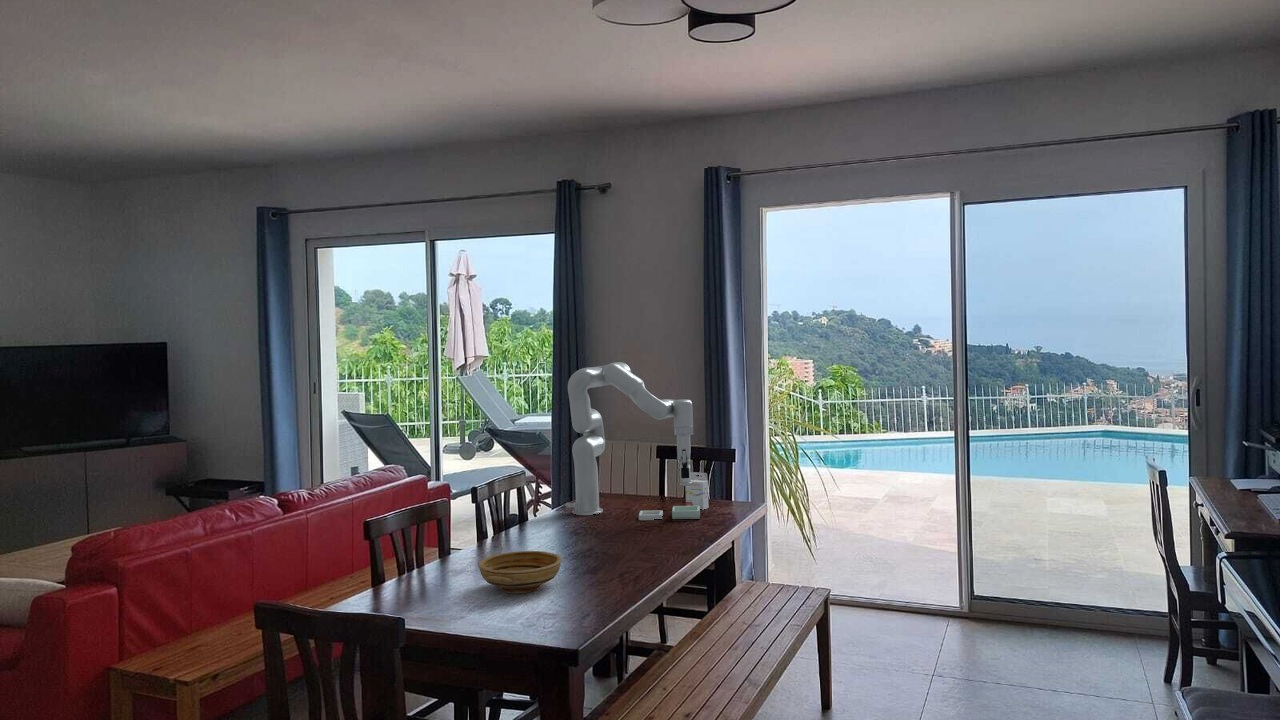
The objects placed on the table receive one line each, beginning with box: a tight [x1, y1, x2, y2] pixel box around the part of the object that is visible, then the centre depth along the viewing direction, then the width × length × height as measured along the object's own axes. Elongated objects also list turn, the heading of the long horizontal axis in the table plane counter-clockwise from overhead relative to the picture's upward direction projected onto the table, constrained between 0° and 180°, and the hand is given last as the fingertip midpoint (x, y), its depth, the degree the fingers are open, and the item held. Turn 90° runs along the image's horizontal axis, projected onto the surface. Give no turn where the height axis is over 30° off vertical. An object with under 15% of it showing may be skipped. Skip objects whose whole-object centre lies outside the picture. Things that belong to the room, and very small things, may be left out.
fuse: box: [678, 458, 691, 487], centre depth 348 cm, size 4×4×10 cm
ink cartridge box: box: [684, 471, 709, 511], centre depth 366 cm, size 9×5×15 cm, turn 58°
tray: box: [671, 505, 701, 519], centre depth 349 cm, size 11×11×4 cm
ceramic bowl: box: [477, 550, 563, 594], centre depth 256 cm, size 30×24×8 cm
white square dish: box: [638, 509, 664, 521], centre depth 350 cm, size 9×9×2 cm
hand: (685, 476), depth 348 cm, fingers closed on fuse, 4 cm apart
